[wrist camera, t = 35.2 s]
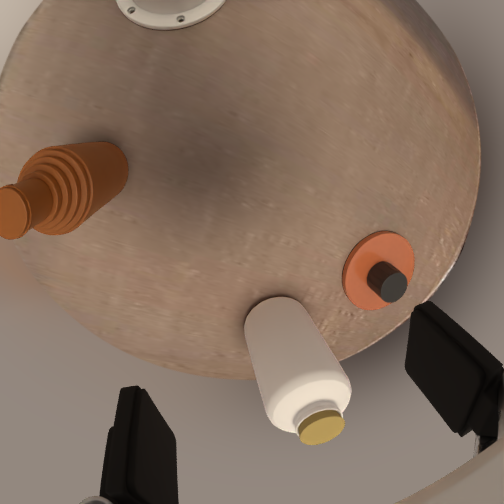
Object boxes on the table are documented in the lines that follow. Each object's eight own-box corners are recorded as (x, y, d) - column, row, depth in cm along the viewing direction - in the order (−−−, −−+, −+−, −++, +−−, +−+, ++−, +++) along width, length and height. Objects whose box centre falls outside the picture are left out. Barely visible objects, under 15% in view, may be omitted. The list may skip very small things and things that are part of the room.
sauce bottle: (98, 129, 28) (0, 129, 11) (140, 168, 30) (77, 207, 13) (63, 175, 29) (-45, 221, 12) (103, 213, 31) (23, 292, 14)
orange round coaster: (389, 213, 37) (393, 215, 36) (420, 268, 41) (424, 271, 40) (326, 272, 38) (329, 275, 37) (366, 320, 42) (369, 324, 42)
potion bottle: (239, 348, 40) (268, 462, 24) (245, 292, 37) (284, 405, 21) (299, 346, 42) (350, 449, 25) (311, 293, 39) (380, 391, 22)
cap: (368, 294, 40) (382, 307, 36) (364, 268, 38) (378, 280, 35) (394, 282, 40) (408, 294, 36) (390, 256, 38) (406, 267, 35)
